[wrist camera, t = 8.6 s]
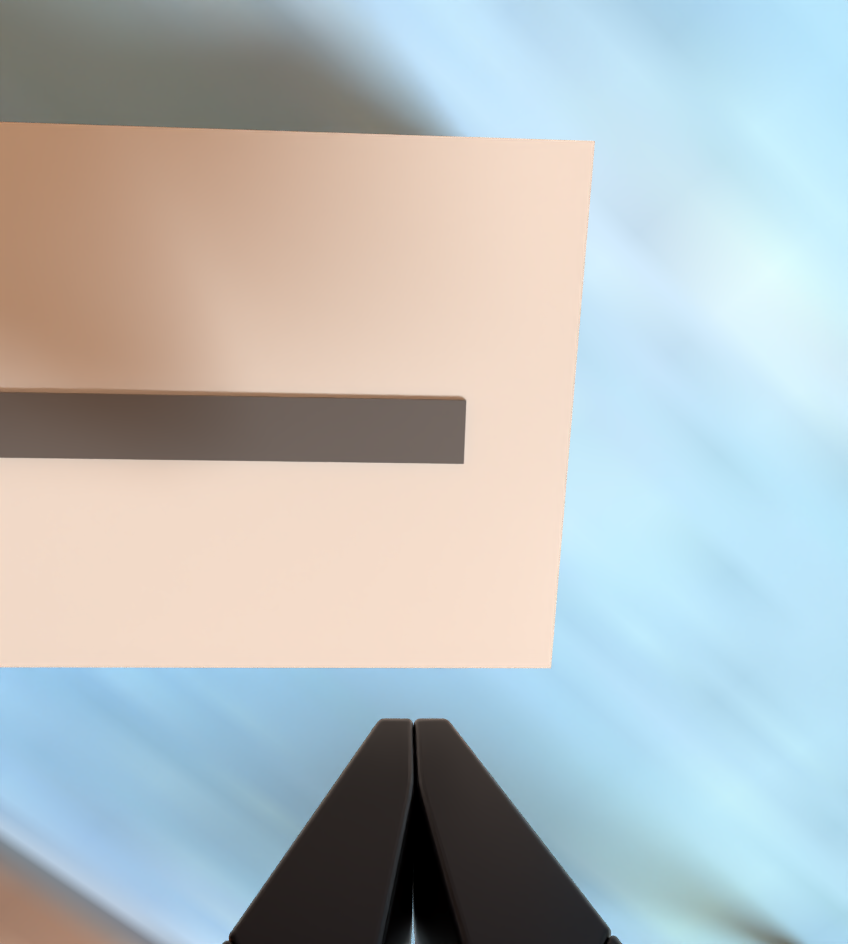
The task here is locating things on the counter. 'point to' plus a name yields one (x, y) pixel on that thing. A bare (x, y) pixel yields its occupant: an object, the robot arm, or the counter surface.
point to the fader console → (285, 396)
